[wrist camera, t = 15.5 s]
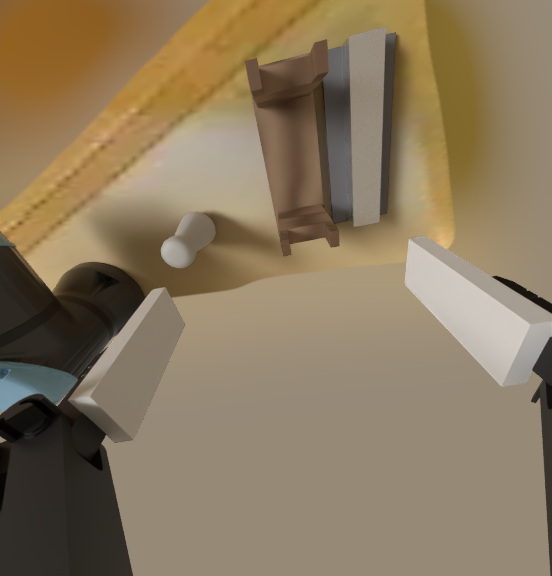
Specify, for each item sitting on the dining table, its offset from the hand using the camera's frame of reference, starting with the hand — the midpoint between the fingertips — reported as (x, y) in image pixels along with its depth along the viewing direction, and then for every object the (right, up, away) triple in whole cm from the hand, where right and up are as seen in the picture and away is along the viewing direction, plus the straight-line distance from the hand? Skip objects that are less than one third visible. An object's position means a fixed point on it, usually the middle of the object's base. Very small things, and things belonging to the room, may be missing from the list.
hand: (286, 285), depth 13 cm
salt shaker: (-14, +11, +29) cm, 34 cm away
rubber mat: (+12, +21, +22) cm, 33 cm away
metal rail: (+12, +21, +22) cm, 32 cm away
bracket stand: (+2, +19, +23) cm, 31 cm away
